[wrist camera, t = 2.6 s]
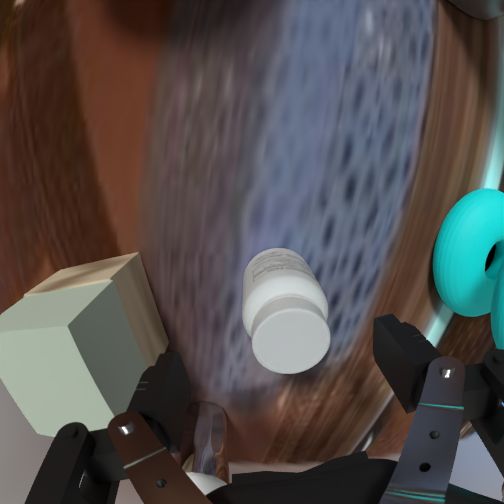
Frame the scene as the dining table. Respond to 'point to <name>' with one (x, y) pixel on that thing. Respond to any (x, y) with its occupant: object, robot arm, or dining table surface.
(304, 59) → the dining table surface
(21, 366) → the sage top block
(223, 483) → the milkshake
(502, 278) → the donuts
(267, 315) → the pill bottle
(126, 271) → the oak base block
